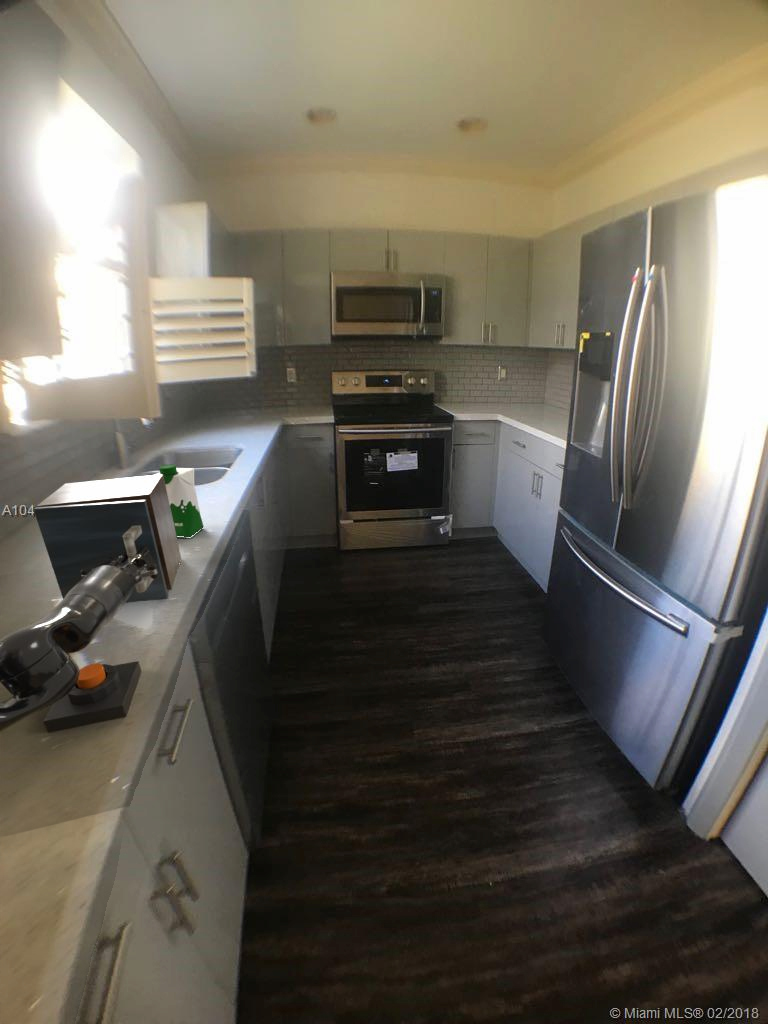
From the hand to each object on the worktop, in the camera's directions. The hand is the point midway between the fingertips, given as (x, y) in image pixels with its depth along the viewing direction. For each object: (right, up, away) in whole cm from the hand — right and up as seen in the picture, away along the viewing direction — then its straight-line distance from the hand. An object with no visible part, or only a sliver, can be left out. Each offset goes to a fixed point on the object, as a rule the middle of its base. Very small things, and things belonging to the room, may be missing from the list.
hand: (140, 551), depth 90 cm
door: (-7, -12, +3) cm, 14 cm away
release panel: (+5, -21, -21) cm, 30 cm away
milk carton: (-8, +2, +39) cm, 39 cm away
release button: (+5, -17, -22) cm, 28 cm away
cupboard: (-10, -8, +14) cm, 19 cm away
